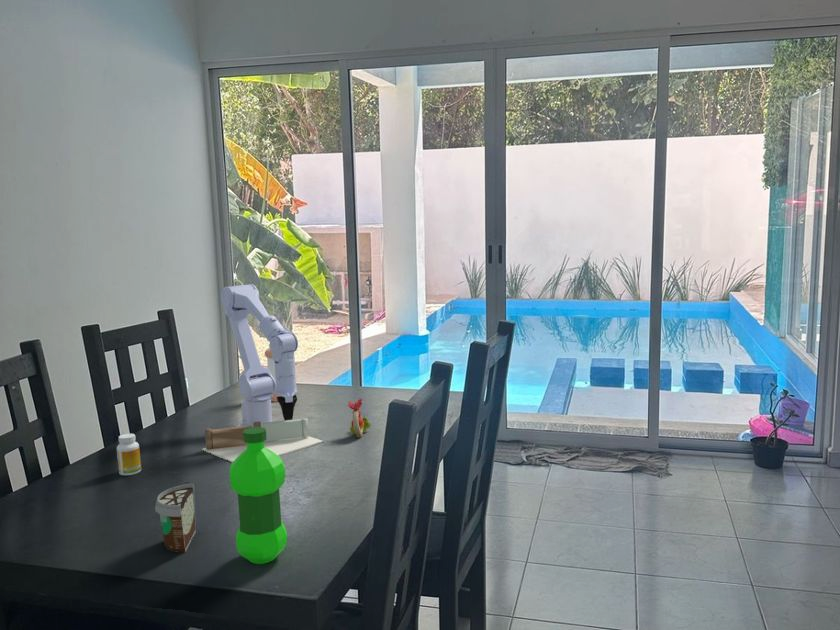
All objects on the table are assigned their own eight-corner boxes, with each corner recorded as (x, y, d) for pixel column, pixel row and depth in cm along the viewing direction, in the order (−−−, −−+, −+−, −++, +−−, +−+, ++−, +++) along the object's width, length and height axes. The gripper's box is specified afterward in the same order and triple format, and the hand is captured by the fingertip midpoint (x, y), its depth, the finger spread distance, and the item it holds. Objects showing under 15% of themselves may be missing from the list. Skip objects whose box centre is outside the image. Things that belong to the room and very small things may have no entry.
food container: (167, 530, 152) (163, 484, 150) (197, 528, 152) (193, 482, 151) (150, 558, 140) (146, 508, 138) (183, 555, 140) (179, 506, 139)
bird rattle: (370, 444, 210) (371, 423, 218) (368, 414, 204) (368, 394, 212) (349, 445, 210) (350, 424, 218) (345, 415, 204) (347, 395, 212)
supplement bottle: (146, 470, 188) (142, 433, 187) (129, 477, 184) (126, 440, 182) (130, 467, 191) (127, 431, 189) (114, 474, 186) (110, 437, 184)
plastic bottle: (224, 566, 136) (214, 436, 132) (256, 541, 145) (247, 420, 142) (270, 574, 132) (261, 441, 128) (299, 548, 142) (292, 424, 138)
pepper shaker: (263, 401, 253) (260, 347, 250) (271, 396, 260) (268, 343, 257) (283, 401, 252) (280, 347, 249) (291, 396, 259) (287, 343, 256)
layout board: (202, 450, 203) (202, 448, 203) (280, 428, 221) (280, 426, 221) (243, 467, 188) (243, 465, 188) (323, 442, 206) (323, 440, 206)
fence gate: (263, 440, 207) (262, 422, 207) (308, 435, 211) (307, 418, 210) (263, 442, 206) (262, 424, 205) (308, 436, 209) (308, 419, 208)
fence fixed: (206, 447, 203) (204, 427, 203) (261, 441, 207) (260, 421, 207) (206, 450, 202) (204, 429, 201) (262, 443, 206) (260, 423, 205)
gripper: (269, 371, 216) (272, 415, 218) (273, 381, 202) (276, 429, 204) (293, 369, 218) (296, 413, 219) (298, 379, 204) (301, 426, 206)
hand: (288, 420), depth 212 cm, fingers closed
